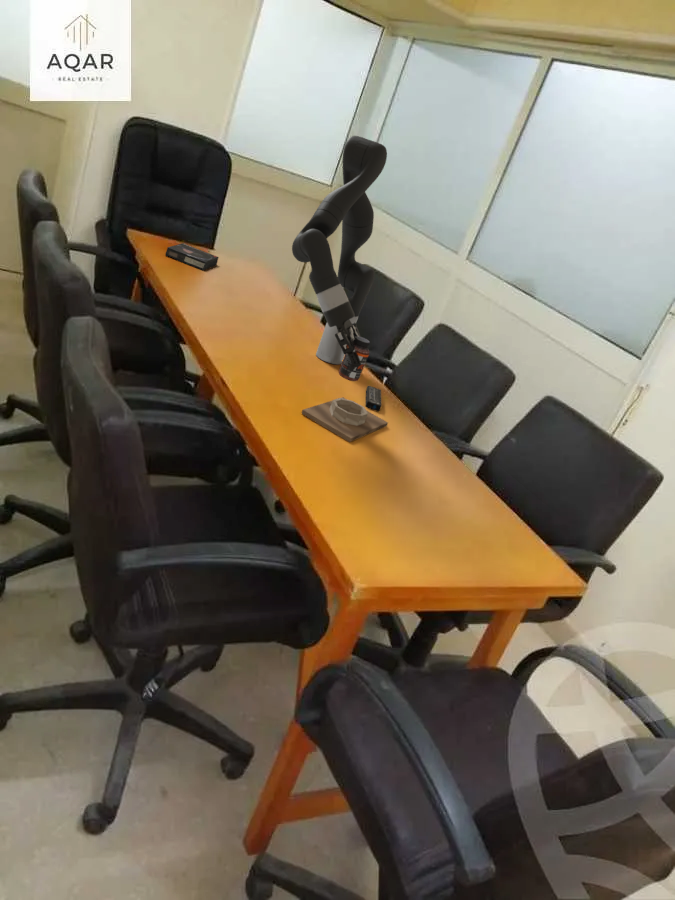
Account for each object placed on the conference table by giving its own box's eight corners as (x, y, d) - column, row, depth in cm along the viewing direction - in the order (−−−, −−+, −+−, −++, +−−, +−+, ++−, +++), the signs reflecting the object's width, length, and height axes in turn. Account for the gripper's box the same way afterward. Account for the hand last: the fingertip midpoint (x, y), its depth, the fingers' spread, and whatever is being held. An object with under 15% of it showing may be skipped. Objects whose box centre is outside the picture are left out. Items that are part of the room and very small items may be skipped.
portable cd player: (164, 257, 277) (166, 247, 276) (180, 252, 293) (182, 243, 291) (202, 271, 277) (204, 262, 275) (216, 266, 293) (218, 257, 291)
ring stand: (341, 400, 202) (346, 388, 200) (386, 426, 196) (391, 413, 194) (301, 413, 183) (305, 399, 181) (349, 442, 177) (355, 428, 176)
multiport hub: (378, 395, 217) (381, 389, 216) (378, 413, 204) (381, 406, 203) (365, 391, 217) (367, 384, 216) (365, 408, 204) (367, 401, 203)
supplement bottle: (356, 384, 183) (371, 346, 179) (335, 375, 184) (350, 337, 179) (360, 378, 189) (375, 341, 184) (340, 370, 189) (354, 332, 184)
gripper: (340, 303, 173) (367, 364, 176) (354, 296, 186) (378, 353, 189) (315, 315, 175) (341, 375, 179) (330, 306, 188) (354, 362, 192)
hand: (360, 363), depth 184 cm, fingers closed on supplement bottle, 6 cm apart
